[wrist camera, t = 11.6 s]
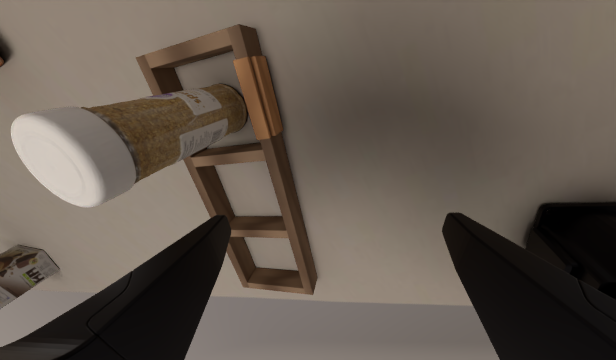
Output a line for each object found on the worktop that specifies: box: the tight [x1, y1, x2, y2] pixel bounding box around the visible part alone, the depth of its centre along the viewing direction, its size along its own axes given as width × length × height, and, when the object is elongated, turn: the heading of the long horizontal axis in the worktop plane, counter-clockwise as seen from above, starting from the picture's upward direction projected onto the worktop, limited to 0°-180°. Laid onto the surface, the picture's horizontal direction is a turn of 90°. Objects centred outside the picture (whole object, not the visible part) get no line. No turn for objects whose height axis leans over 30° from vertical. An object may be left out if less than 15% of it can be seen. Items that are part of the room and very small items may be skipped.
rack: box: [136, 24, 317, 295], centre depth 23 cm, size 10×28×3 cm, turn 11°
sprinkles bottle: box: [11, 84, 247, 207], centre depth 15 cm, size 5×5×13 cm
